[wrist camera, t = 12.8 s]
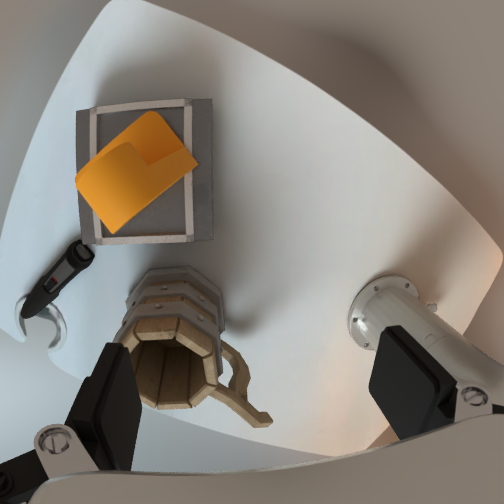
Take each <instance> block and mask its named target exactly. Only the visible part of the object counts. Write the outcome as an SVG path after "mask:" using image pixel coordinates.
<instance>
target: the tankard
mask: <svg viewBox="0 0 504 504" xmlns="http://www.w3.org/2000/svg"><path fill="white" fill-rule="evenodd" d="M126 306H127V313H126V314H125V316H124V318H123V321H122V327H121V328H120V329H119V331H118V332H117V333H116V335H115V338H114V340H113V342H112V343H122V344H123V345H124V347H128V349H129V352H130V357H131V362H132V366H133V371H134V375H135V379H136V383H137V387H138V391H139V395H140V399H141V401H142V402H144V403H145V404H147V405H149V406H150V407H152V408H154V409H155V407H156V406H157V409H158V410H160V409H186V408H192V405H193V406H194V407H196V406H197V405H198V404H199V403H200V402H201V401H202V400H204V399H205V398H206V397H207V396H208V395H209V396H211V397H213V398H215V399H217V400H219V401H221V402H223V403H224V404H226V405H227V406H228V407H230V408H231V409H232V410H233V411H235V412H236V413H237V414H238V415H239V416H241V417H242V418H243V419H244V420H245V421H246V422H247V423H249V424H250V425H251V426H252V427H253V428H262V427H268V426H269V425H271V424H272V423H273V420H272V418H271V417H270V415H269V414H268V413H267V412H258V411H257V410H256V409H255V408H254V407H253V406H252V405H251V404H250V403H249V402H248V399H247V387H248V384H249V381H250V379H251V377H250V372H249V368H248V366H247V364H246V363H245V361H244V359H243V358H242V356H241V355H240V353H239V352H238V351H236V350H235V349H234V348H232V347H231V346H230V345H228V344H227V343H226V342H224V341H222V340H221V339H220V334H221V333H222V332H223V331H224V330H225V325H224V316H223V306H222V296H221V290H220V289H219V288H217V287H216V286H215V285H213V284H212V283H211V282H209V281H208V280H207V279H206V278H204V277H203V276H202V275H200V274H199V273H198V272H196V271H195V270H194V269H193V268H191V267H190V266H183V267H172V268H160V269H149V271H148V272H147V273H146V274H145V276H144V277H143V278H142V280H141V281H140V282H139V284H138V285H137V286H136V287H135V289H134V290H133V291H132V293H131V294H130V295H129V297H128V298H127V300H126ZM222 357H224V358H225V359H226V360H227V361H228V362H229V363H230V365H231V367H232V369H233V376H232V378H231V380H230V382H229V384H228V388H227V387H226V386H224V385H222V384H221V383H219V382H218V377H219V376H220V375H221V374H222V373H223V364H222Z"/></svg>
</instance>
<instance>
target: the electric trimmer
mask: <svg viewBox="0 0 504 504" xmlns="http://www.w3.org/2000/svg"><path fill="white" fill-rule="evenodd" d="M94 257H95V255H94V254H93V252H92V251H91V250H90V249H89V248H88V246H87V245H86V244H84V245H83V243H82V240H81V239H80V240H78V241H75V242H74V243H72V244H71V245H70V246H69V247H68V249H67V250H66V252H65V253H64V254H63V256H62V257H61V258H60V259H59V260H58V262H57V263H56V264H55V265H54V266H53V267H52V269H51V270H50V271H49V272H48V273H47V274H46V275H45V276H43V277H42V278H41V279H40V280H39V282H38V283H37V284H36V286H35V287H34V289H33V290H32V292H31V293H30V294H29V296H28V297H27V299H26V301H25V302H24V304H23V307H22V310H21V316H22V318H24V319H27V318H30V317H33V316H35V315H36V314H37V313H39V312H40V311H41V310H42V309H43V308H45V307H46V306H47V305H48V304H49V303H51V302H52V301H53V300H54V299H55V298H56V297H57V296H58V295H59V292H60V291H61V290H62V289H63V288H64V287H65V286H66V285H67V284H68V283H69V282H70V281H71V280H72V279H73V278H74V277H75V276H76V275H77V274H78V273H80V272H81V271H82V270H84V269H86V268H87V267H88V266H89V265H90V264H91V263H92V261H93V259H94Z"/></svg>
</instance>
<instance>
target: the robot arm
mask: <svg viewBox="0 0 504 504" xmlns="http://www.w3.org/2000/svg"><path fill="white" fill-rule="evenodd" d="M436 311H437V305H436V304H435V303H433V304H428V305H426V304H425V303H424V302H422V301H421V300H420V298H419V294H418V291H417V289H416V287H415V286H414V285H413V284H412V283H411V282H410V281H409V280H407V279H406V278H404V277H401V276H397V275H388V276H384V277H381V278H379V279H376V280H374V281H373V282H371V283H370V284H368V285H367V286H366V287H365V288H364V289H363V290H362V291H361V292H360V293H359V295H358V296H357V297H356V299H355V301H354V302H353V304H352V306H351V309H350V312H349V317H348V329H349V333H350V335H351V337H352V338H353V340H354V341H355V343H357V344H358V345H359V346H360V347H362V348H363V349H367V350H375V351H376V357H375V361H374V365H373V370H372V374H371V378H370V382H369V392H370V394H371V395H372V397H373V398H374V400H375V402H376V403H377V405H378V406H379V408H380V409H381V411H382V413H383V414H384V416H385V417H386V419H387V420H388V422H389V424H390V425H391V427H392V428H393V430H394V431H395V433H396V435H397V436H398V438H399V439H400V441H397V442H393V443H390V444H387V445H383V446H379V447H375V448H372V449H368V450H364V451H360V452H355V453H351V454H347V455H342V456H338V457H333V458H328V459H322V460H317V461H311V462H305V463H300V464H293V465H286V466H278V467H270V468H261V469H250V470H237V471H220V472H144V471H131V466H132V460H133V455H134V449H135V444H136V438H137V433H138V428H139V423H140V418H141V413H142V403H141V399H140V395H139V391H138V387H137V383H136V379H135V375H134V371H133V366H132V362H131V357H130V352H129V349H128V347H124V345H123V344H122V343H106V344H105V347H104V349H103V351H102V353H101V355H100V357H99V359H98V361H97V363H96V366H95V368H94V370H93V372H92V374H91V376H90V377H86V378H85V379H84V381H83V383H82V385H81V388H80V390H79V392H78V394H77V396H76V398H75V401H74V403H73V405H72V407H71V410H70V412H69V414H68V417H67V419H66V421H65V424H64V425H62V424H52V425H48V426H46V427H44V428H42V429H41V430H40V431H39V432H38V433H37V435H36V436H35V438H34V447H35V449H34V450H32V451H29V452H27V453H25V454H22V455H20V456H18V457H15V458H13V459H11V460H8V461H6V462H4V463H1V464H0V504H504V365H502V364H500V363H499V362H497V361H496V360H494V359H493V358H491V357H489V356H488V355H487V354H486V353H484V352H483V351H482V350H480V349H479V348H478V347H476V346H475V345H474V344H473V343H471V342H470V341H469V340H467V339H466V338H465V337H464V336H462V335H461V334H460V333H459V332H457V331H456V330H455V329H454V328H453V327H451V326H450V325H449V324H448V323H446V322H445V321H444V320H443V319H441V318H440V317H439V316H438V315H436V314H435V313H434V312H436Z"/></svg>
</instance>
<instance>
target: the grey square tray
mask: <svg viewBox="0 0 504 504" xmlns="http://www.w3.org/2000/svg"><path fill="white" fill-rule="evenodd" d="M148 111H155V112H157V113H158V114H159V115H161V116H162V117H163V119H164V120H165V121H166V123H167V124H168V125H169V127H170V128H171V129H172V130H173V132H174V133H175V134H176V136H177V137H178V138H179V140H180V141H181V142H182V143H183V145H184V146H185V147H186V149H187V150H188V151H189V153H190V154H191V155H192V156H193V158H194V159H195V160H196V162H197V163H198V164H199V165H197V166H196V167H195V168H193V169H192V170H191V171H189V172H188V173H187V174H186V175H184V176H183V177H182V178H180V179H179V180H178V181H177V182H175V183H174V184H173V185H172V186H170V187H169V188H168V189H167V190H165V191H164V192H163V193H162V194H161V195H159V196H158V197H157V198H156V199H154V200H153V201H152V202H151V203H150V204H148V205H147V206H146V207H145V208H144V209H142V210H141V211H140V212H139V213H138V214H136V215H135V216H134V217H133V218H132V219H131V220H129V221H128V222H127V223H126V224H125V225H124V226H122V227H121V228H120V229H119V230H118V231H117V232H116V233H114V234H112V233H111V232H110V231H109V229H108V228H107V227H106V226H105V224H104V223H103V222H102V221H101V219H100V218H99V217H98V215H97V214H96V213H95V212H94V210H93V209H92V208H91V206H90V205H89V204H88V202H87V201H86V200H85V199H84V197H83V196H82V195H81V193H80V192H79V190H78V189H77V190H78V204H79V216H80V226H81V235H82V243H83V245H84V244H96V245H119V244H146V243H176V242H194V240H213V208H212V99H172V100H156V101H144V102H134V103H124V104H115V105H107V106H100V107H93V108H90V109H85V110H79V111H76V170H77V173H78V172H79V171H80V170H81V169H82V168H83V167H84V166H85V165H86V164H87V163H88V162H89V161H90V160H91V159H93V158H94V157H95V156H96V155H97V154H98V153H99V152H100V151H101V150H102V149H103V148H104V147H106V146H107V145H108V144H109V143H110V142H111V141H112V140H113V139H115V138H116V137H117V136H118V135H119V134H120V133H122V132H123V131H124V130H125V129H126V128H127V127H129V126H130V125H131V124H132V123H133V122H135V121H136V120H137V119H138V118H140V117H141V116H142V115H143V114H145V113H146V112H148Z"/></svg>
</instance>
